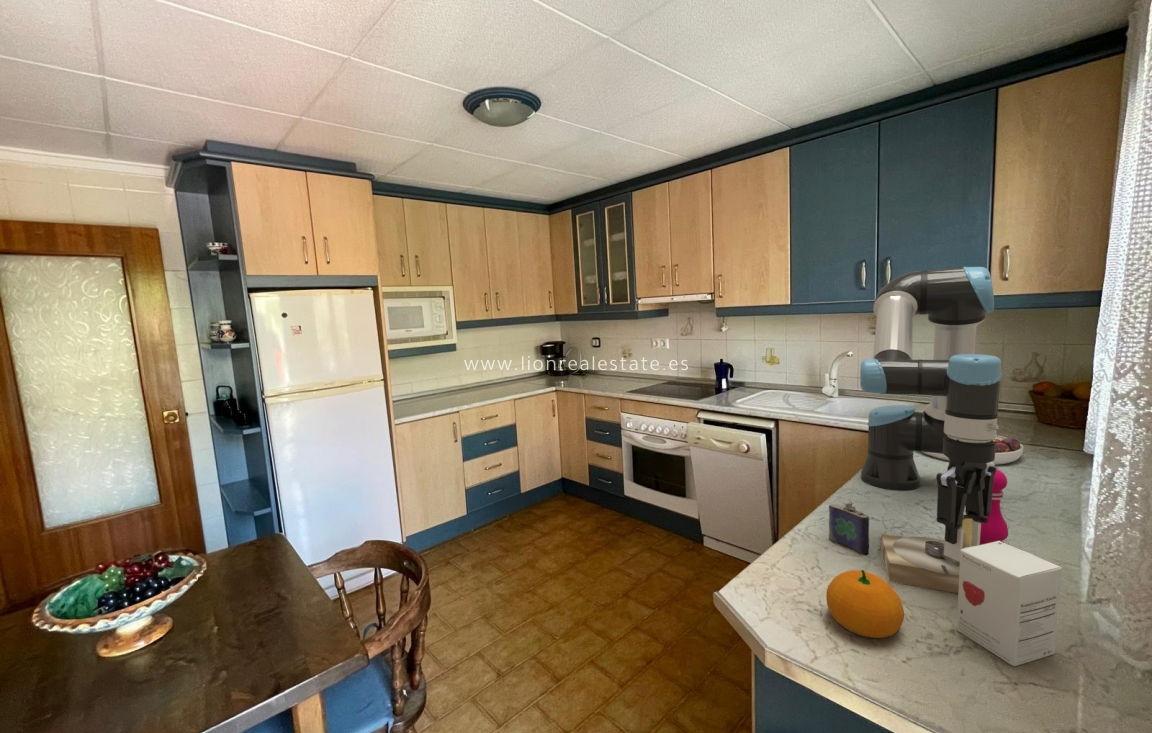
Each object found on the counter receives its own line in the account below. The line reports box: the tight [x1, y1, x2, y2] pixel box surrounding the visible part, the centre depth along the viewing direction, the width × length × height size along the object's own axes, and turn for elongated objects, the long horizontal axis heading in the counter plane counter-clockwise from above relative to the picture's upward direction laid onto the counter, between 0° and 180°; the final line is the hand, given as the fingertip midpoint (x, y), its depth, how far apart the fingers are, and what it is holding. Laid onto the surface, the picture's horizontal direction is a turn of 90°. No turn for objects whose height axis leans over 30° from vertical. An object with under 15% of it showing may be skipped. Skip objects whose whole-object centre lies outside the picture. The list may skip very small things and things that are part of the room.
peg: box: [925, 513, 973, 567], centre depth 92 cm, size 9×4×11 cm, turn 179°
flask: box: [828, 501, 870, 557], centre depth 108 cm, size 9×3×11 cm, turn 26°
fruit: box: [826, 569, 905, 639], centre depth 82 cm, size 12×12×10 cm
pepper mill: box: [980, 462, 1009, 545], centre depth 103 cm, size 7×7×20 cm
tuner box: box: [879, 533, 960, 594], centre depth 96 cm, size 15×18×4 cm
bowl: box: [922, 434, 1024, 466], centre depth 164 cm, size 30×30×8 cm
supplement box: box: [956, 541, 1063, 667], centre depth 76 cm, size 9×9×15 cm
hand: (961, 554), depth 90 cm, fingers open, 4 cm apart
